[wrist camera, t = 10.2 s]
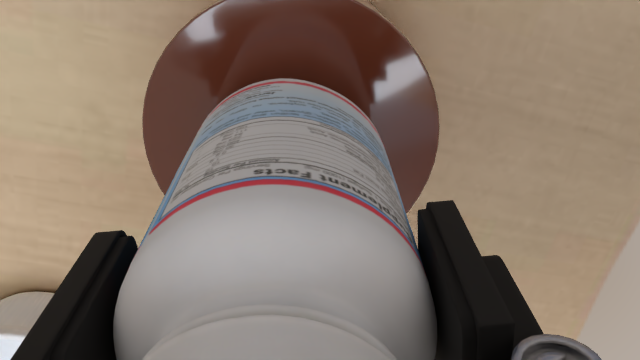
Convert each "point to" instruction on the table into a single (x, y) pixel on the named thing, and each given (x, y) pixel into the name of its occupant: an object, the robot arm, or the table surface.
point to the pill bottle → (279, 242)
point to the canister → (294, 77)
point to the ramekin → (19, 319)
